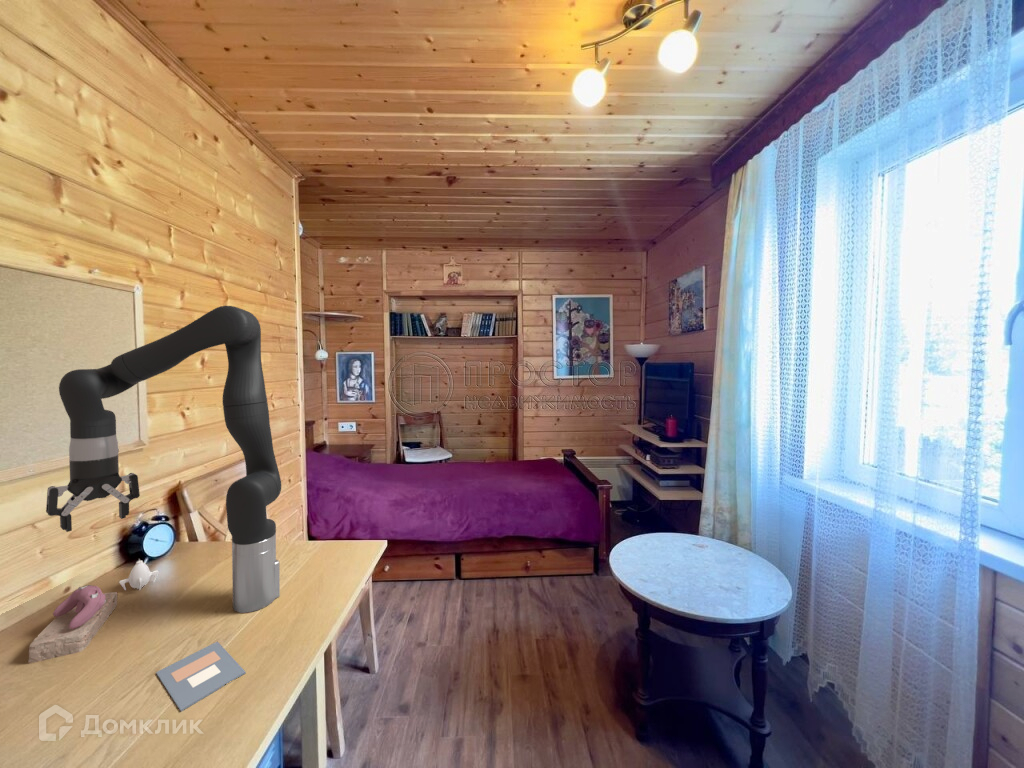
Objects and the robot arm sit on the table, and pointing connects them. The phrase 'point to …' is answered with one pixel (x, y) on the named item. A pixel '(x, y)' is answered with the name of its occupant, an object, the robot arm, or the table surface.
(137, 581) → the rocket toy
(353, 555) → the table surface
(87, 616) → the video game controller
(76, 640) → the brick
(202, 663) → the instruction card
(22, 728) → the table surface
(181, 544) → the table surface
